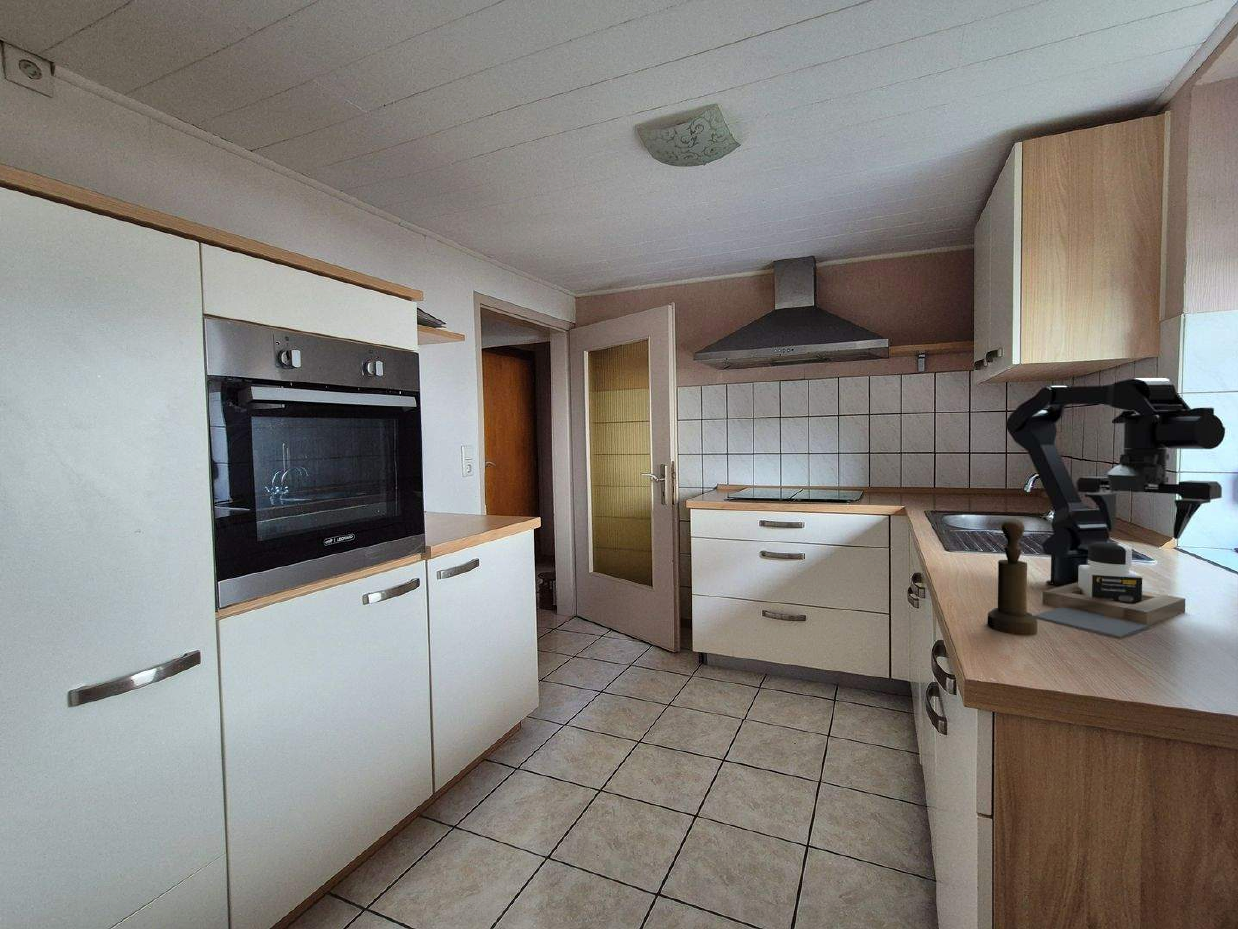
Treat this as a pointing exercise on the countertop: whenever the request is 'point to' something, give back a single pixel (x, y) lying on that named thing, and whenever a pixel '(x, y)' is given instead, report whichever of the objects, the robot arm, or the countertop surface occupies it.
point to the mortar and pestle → (1012, 588)
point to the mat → (1092, 622)
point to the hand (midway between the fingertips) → (1142, 535)
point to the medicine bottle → (1110, 574)
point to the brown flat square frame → (1117, 605)
